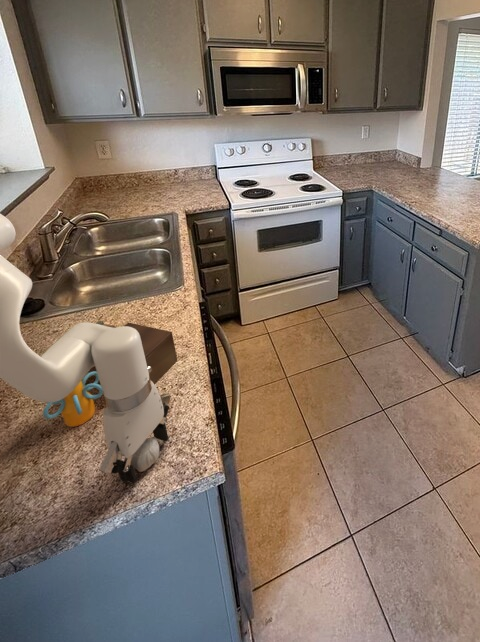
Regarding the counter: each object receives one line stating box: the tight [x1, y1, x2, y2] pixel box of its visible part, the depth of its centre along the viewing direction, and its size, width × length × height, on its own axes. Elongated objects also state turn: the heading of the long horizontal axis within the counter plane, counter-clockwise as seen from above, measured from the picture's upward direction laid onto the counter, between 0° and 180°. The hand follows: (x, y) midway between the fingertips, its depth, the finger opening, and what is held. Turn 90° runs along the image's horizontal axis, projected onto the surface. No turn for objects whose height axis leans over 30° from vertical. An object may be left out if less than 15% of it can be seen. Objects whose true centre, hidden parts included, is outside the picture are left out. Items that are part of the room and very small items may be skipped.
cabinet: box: [92, 322, 178, 386], centre depth 93 cm, size 15×13×10 cm
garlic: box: [130, 436, 160, 472], centre depth 71 cm, size 6×5×5 cm
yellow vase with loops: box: [42, 371, 104, 428], centre depth 80 cm, size 12×10×15 cm
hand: (146, 457), depth 72 cm, fingers open, 8 cm apart
